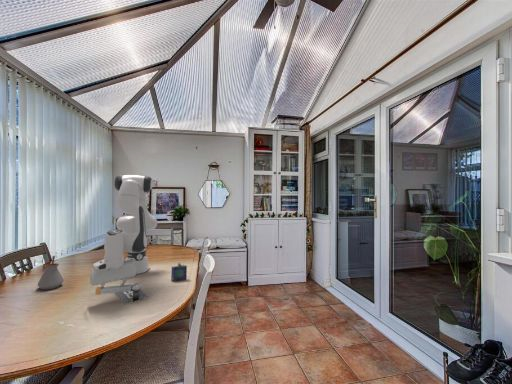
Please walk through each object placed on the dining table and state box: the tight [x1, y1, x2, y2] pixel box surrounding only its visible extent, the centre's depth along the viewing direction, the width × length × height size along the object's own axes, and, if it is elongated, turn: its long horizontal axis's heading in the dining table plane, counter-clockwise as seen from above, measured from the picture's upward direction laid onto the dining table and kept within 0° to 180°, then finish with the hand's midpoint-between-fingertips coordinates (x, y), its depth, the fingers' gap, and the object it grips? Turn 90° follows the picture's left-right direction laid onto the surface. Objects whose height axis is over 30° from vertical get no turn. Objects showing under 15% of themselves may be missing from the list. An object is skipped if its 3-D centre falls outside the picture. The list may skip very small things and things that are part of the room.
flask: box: [170, 262, 188, 282], centre depth 153 cm, size 9×3×11 cm, turn 109°
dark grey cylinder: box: [133, 291, 140, 302], centre depth 122 cm, size 3×3×4 cm
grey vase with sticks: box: [37, 255, 64, 291], centre depth 143 cm, size 21×12×15 cm, turn 36°
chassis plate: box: [113, 289, 150, 305], centre depth 127 cm, size 18×12×1 cm, turn 44°
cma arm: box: [95, 283, 142, 296], centre depth 120 cm, size 20×4×3 cm, turn 107°
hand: (113, 289), depth 123 cm, fingers open, 6 cm apart
